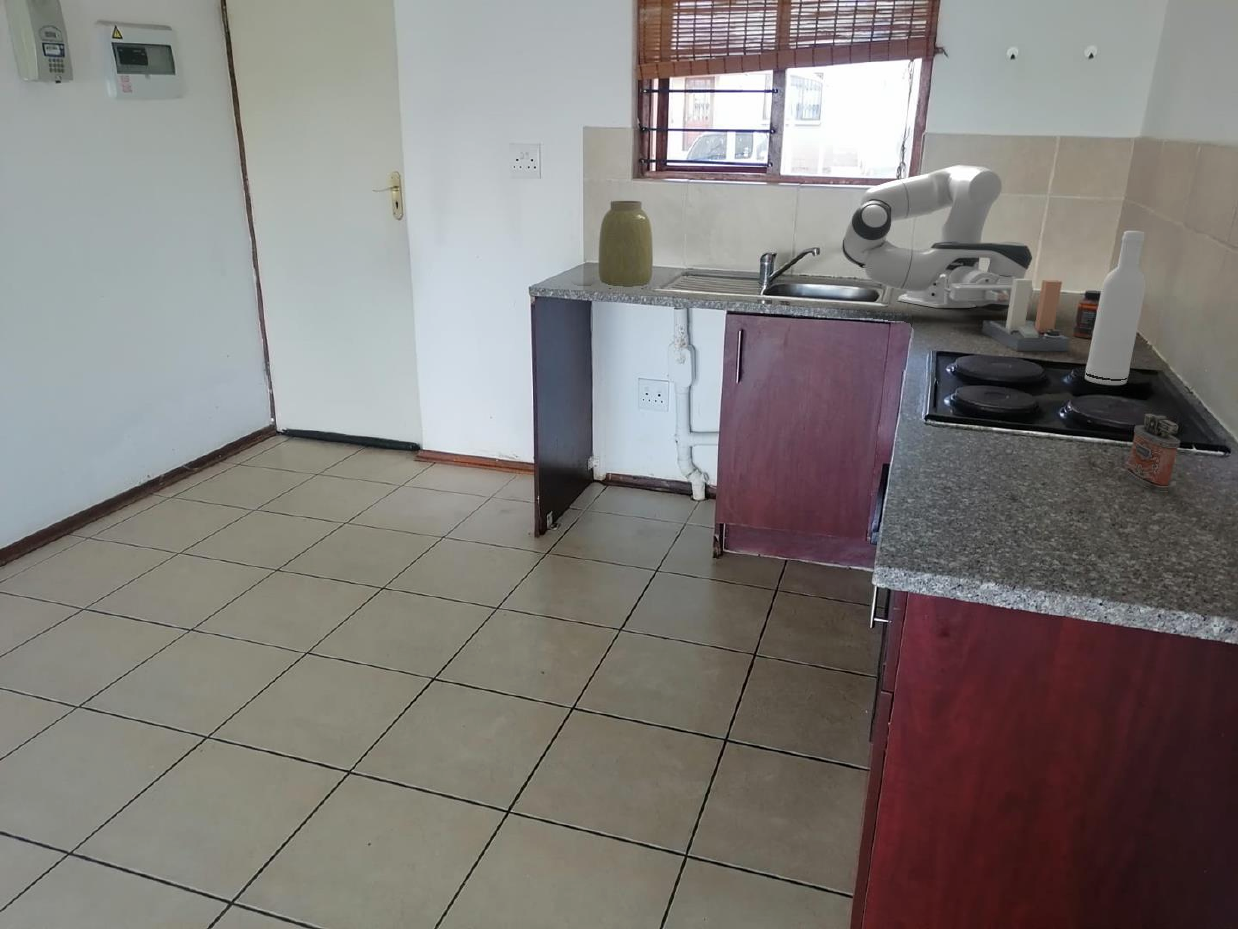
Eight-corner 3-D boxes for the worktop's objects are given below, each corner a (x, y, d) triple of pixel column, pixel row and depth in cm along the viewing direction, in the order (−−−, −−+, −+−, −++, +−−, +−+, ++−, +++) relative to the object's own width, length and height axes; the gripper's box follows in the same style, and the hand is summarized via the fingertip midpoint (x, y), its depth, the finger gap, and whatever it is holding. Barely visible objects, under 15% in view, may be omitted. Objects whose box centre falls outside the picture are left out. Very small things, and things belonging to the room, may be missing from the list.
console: (981, 332, 231) (984, 314, 230) (1028, 332, 232) (1031, 315, 230) (1016, 351, 212) (1019, 332, 210) (1067, 351, 212) (1070, 332, 210)
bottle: (1123, 377, 189) (1153, 230, 179) (1130, 387, 182) (1161, 234, 172) (1081, 374, 192) (1108, 228, 181) (1086, 383, 185) (1115, 232, 174)
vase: (593, 285, 297) (593, 200, 288) (644, 283, 301) (645, 199, 292) (605, 294, 281) (605, 204, 272) (658, 292, 285) (660, 203, 276)
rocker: (1018, 330, 214) (1019, 326, 214) (1030, 330, 214) (1032, 326, 214) (1024, 337, 211) (1025, 333, 210) (1037, 337, 211) (1038, 333, 210)
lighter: (1119, 472, 137) (1132, 409, 133) (1140, 471, 137) (1154, 408, 134) (1152, 492, 129) (1167, 425, 126) (1175, 491, 130) (1190, 425, 126)
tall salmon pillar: (1034, 330, 218) (1042, 280, 214) (1048, 330, 218) (1057, 280, 214) (1038, 332, 216) (1047, 281, 212) (1053, 332, 216) (1061, 281, 212)
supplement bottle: (1102, 339, 224) (1111, 293, 220) (1076, 338, 225) (1084, 292, 221) (1095, 334, 229) (1104, 289, 225) (1070, 333, 230) (1078, 288, 226)
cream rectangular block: (1005, 328, 220) (1013, 278, 216) (1019, 328, 220) (1027, 278, 216) (1009, 330, 218) (1017, 280, 214) (1024, 330, 218) (1032, 280, 214)
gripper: (943, 276, 239) (962, 284, 226) (1020, 276, 239) (1044, 284, 226) (940, 300, 241) (959, 310, 228) (1016, 300, 241) (1040, 309, 228)
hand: (1002, 297), depth 227 cm, fingers closed
